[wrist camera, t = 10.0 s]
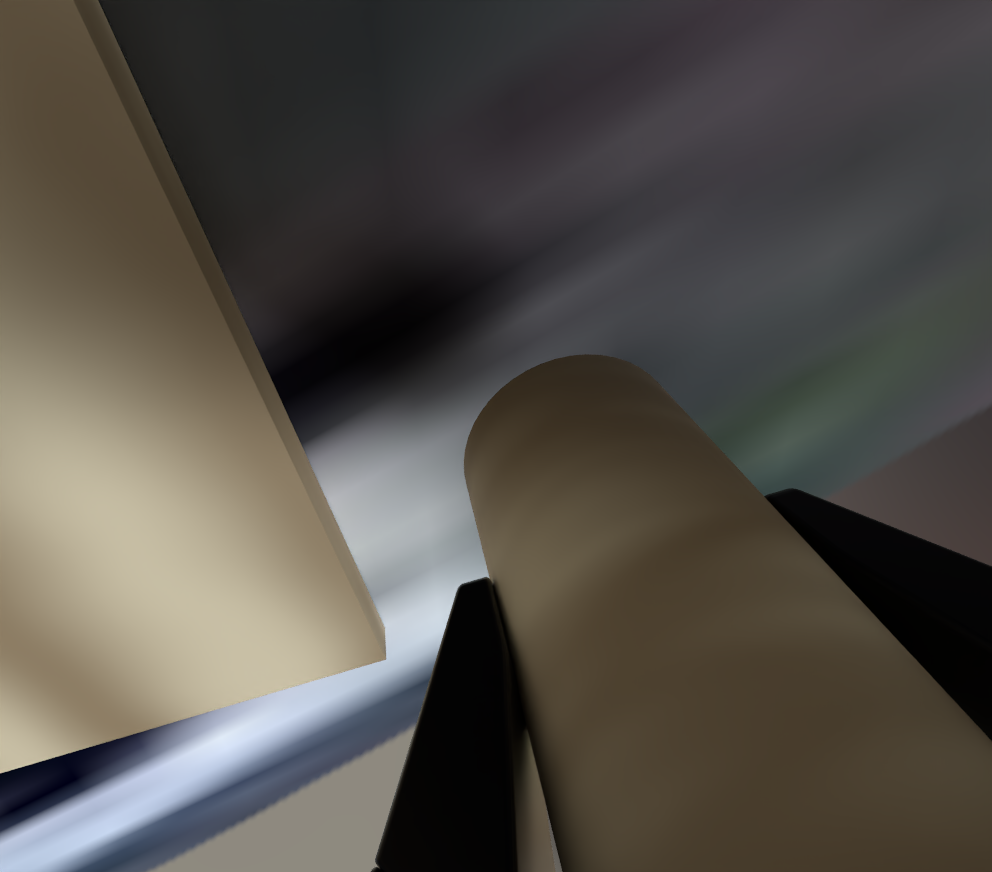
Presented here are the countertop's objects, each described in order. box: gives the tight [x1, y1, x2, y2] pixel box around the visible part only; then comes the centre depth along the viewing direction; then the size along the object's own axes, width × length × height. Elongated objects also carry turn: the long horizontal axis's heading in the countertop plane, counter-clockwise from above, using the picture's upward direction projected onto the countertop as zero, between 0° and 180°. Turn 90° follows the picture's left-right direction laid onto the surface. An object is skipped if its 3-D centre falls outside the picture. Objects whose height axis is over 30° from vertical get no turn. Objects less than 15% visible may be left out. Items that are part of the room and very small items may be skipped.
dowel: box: [464, 354, 992, 872], centre depth 7 cm, size 4×4×8 cm
